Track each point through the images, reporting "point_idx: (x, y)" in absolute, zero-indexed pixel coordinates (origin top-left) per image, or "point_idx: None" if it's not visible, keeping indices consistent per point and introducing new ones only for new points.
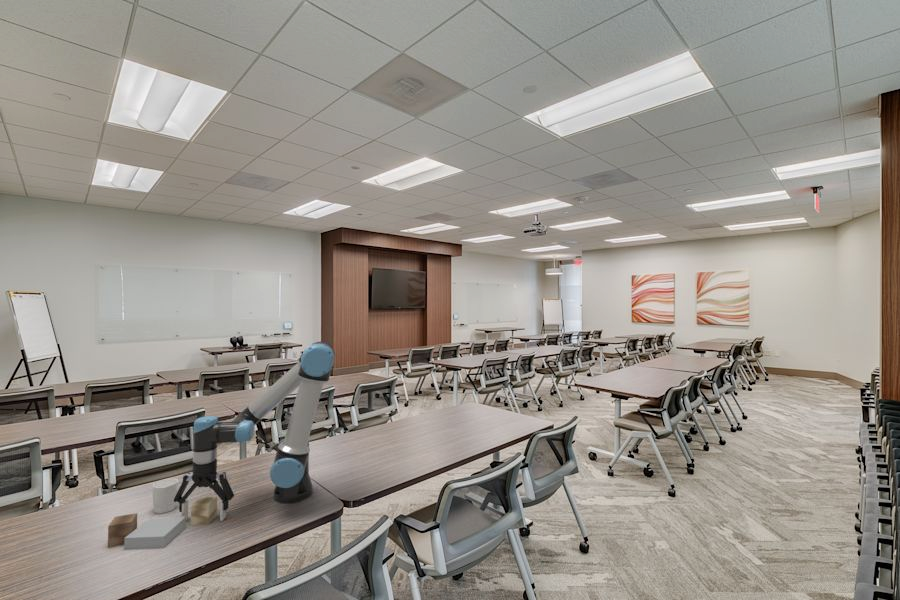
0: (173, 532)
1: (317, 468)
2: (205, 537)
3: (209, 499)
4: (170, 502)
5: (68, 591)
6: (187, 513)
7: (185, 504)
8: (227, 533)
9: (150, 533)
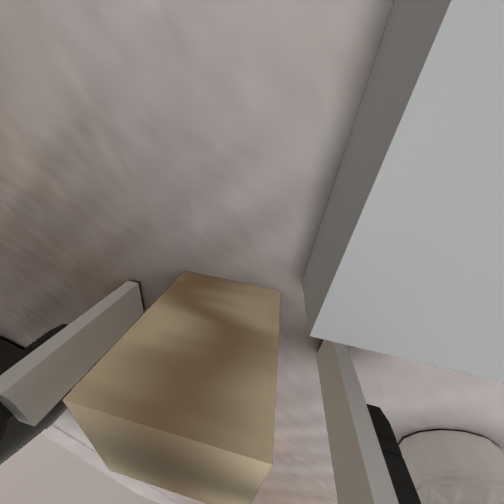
0: (374, 118)
1: (64, 444)
2: (107, 98)
3: (139, 467)
4: (454, 501)
5: None
6: (322, 382)
7: (355, 483)
8: (5, 131)
9: None
